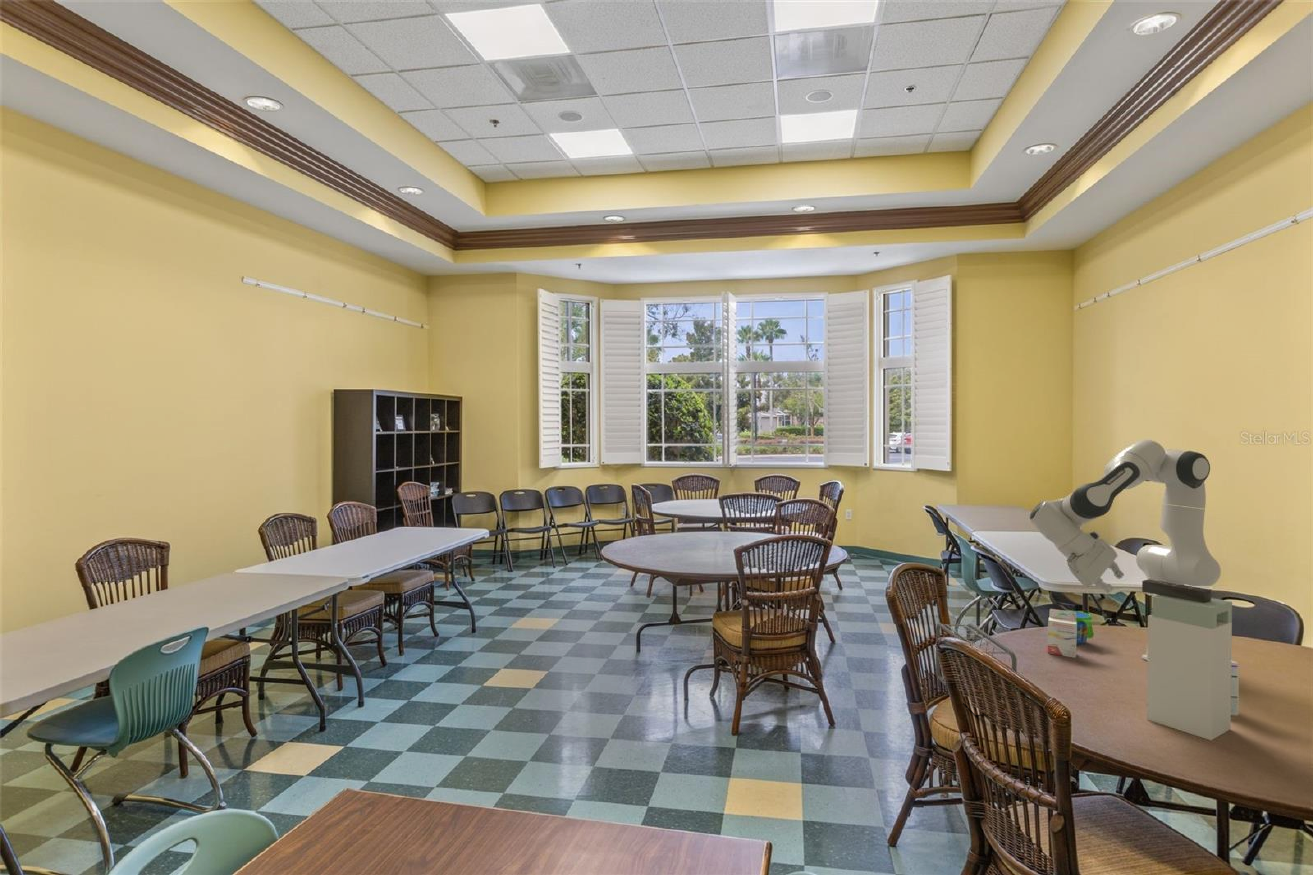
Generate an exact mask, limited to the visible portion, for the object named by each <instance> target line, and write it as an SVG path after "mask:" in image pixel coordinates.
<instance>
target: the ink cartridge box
mask: <svg viewBox="0 0 1313 875" xmlns="http://www.w3.org/2000/svg"><path fill="white" fill-rule="evenodd" d="M1070 611H1071V610H1070ZM1070 611H1063V610H1061V609H1055V608H1050V609H1049V617H1048V619H1047V620H1048V623H1047V653H1048V654H1050V655H1051V654H1052V655H1055V656H1062V657H1067V658H1074V659H1075V658H1077V643H1076V642H1077V621H1076V612H1070ZM1058 613H1064V614H1067V616H1063V615H1058Z"/></svg>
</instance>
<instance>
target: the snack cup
mask: <svg viewBox="0 0 1313 875" xmlns="http://www.w3.org/2000/svg"><path fill="white" fill-rule="evenodd" d="M1063 611H1070V612H1076V621H1077V642H1076V645H1077V644H1081V645H1082V644H1085V643H1087V640H1088V639H1092V638H1093V637H1094V635H1095V634H1094V628H1093V625H1092V622H1091V620H1092V619H1093V617H1092V615H1091V614H1089V613H1086V612H1083V611H1077V610H1066V609H1065V610H1063ZM1058 615H1063V616H1067V614H1064V613H1058Z"/></svg>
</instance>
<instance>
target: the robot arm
mask: <svg viewBox="0 0 1313 875" xmlns="http://www.w3.org/2000/svg"><path fill="white" fill-rule="evenodd" d="M1210 472H1211V463H1210V461H1209V459H1208V458H1207V456H1206V455H1205V454H1203V453H1200V452H1198V451H1192V450H1187V451H1186V450H1181V449H1180V450H1179V449H1165V448H1164V447H1163V446H1162V445H1161V444H1160V443H1158V442H1157V441H1154V440H1152V439H1141V440H1139V441H1136V442H1134V443H1133V444H1130V445H1129V446H1127V447H1125V448H1124V449H1122V450H1121V451H1120V452H1118V453H1117V454H1115V455H1114V456H1113V457H1112V458H1111V459H1110V460H1109V461H1108V462H1107V463H1106V465H1105V466H1104V474H1105V475H1103V476H1102V477H1101V478H1100V479H1098V480H1097V481H1094V482H1089V483H1085V484H1082V485H1080V486H1078V487H1077V488H1076V489H1075V490H1074V491H1073V492H1071V493H1070V494H1068V495H1067V496H1066V497H1064V498H1059V499H1054V500H1042V501H1041V502H1039V503H1038V504H1037V505H1036V506H1035V507H1034V508H1033V509H1032V510H1031V512H1030V515H1029V519H1030V522H1031V523H1032V525H1033V526H1034V527H1035V528H1036V530H1037V531H1038V532H1039V533H1040V534H1041V535H1042V536H1044V538H1045V539H1046V540H1049V541H1050V542H1052V543H1053V545H1054V546H1055V547H1056V549H1057V550H1058V551H1059V552H1060V553H1061V554H1062V555H1063V556H1064V557H1065V558H1066V563H1067V567H1068V570H1070V572H1071V573H1072V575H1073V576H1074V577H1075V578H1076V579H1077V581H1078V582H1079V583H1081V585H1083V586H1084V587H1086V588H1089V587H1091V586H1093V585H1094V586H1096V587H1098V588H1100V589H1102V590H1103V591H1104V592H1106V593H1108V594H1109V593H1111V592H1112V591H1113V590H1114V587H1113V586H1112V584H1110V583H1106V582H1104V580H1103V579H1102V578H1101V577H1102V576H1103V575H1104V574H1105V573H1106V571H1107V570H1108V569H1111V571H1112V573H1113V576H1114V577H1115V578H1117V579H1118V580H1121V579H1122V578H1123V577H1124V576H1125V573H1124V572H1123V570H1121V569H1120V566H1119V565H1118V563H1117V562H1116V561H1115V560H1116V559H1117V558H1118V554H1117V552H1116V550H1115V549H1114V548H1113V547H1112V546H1111V545H1110V544H1109V543H1108V542H1106V540H1104V539H1103V538H1100V534H1099V533H1098V532H1097V531H1090V532H1084V531H1083V530H1082V529H1081V527H1083V526H1085V525H1087V524H1089V523H1090V522H1092V521H1093V520H1095V519H1097V518H1100V517H1102V516H1104V515H1105V514H1107V513H1108V512H1109V511H1110V510H1111V508H1112V505H1113V503H1114V500H1115V499H1116V497H1117V496H1118V495H1119V494H1121V493H1122V492H1123V491H1124V490H1131V489H1133V488H1135V487H1138V486H1139V485H1141V484H1142V483H1144V482H1153V483H1160V484H1164V485H1165V489H1164V493H1163V498H1162V505H1161V514H1160V521H1159V526H1160V529H1161V531H1163V533H1165V534H1166V536H1167V537H1168V540H1169V542H1170V543H1169V544H1170V546H1169V545H1165V544H1164V545H1163V544H1148V545H1144V546H1142V547H1141V548H1139V550H1138V552H1137V554H1136V557H1135V559H1136V564H1137V567H1138V569H1140V570H1141V571H1142V572H1143V574H1144V575H1145V577H1146V579H1147V580H1148V579H1151V580H1157V581H1163V582H1169V583H1175V584H1181V585H1186V586H1192V587H1211V586H1213V585H1215V584H1216V583H1217V582H1218V581H1219V579H1220V577H1221V573H1222V570H1221V565H1220V564H1219V562H1218V561H1217V559H1215V557H1213V556H1212V554H1211V553H1210V550H1209V548H1208V547H1207V544H1206V541H1205V536H1204V523H1205V512H1206V501H1207V500H1206V497H1207V496H1206V485H1205V482H1206V480H1207V478H1208V476H1209V475H1210ZM1154 596H1157V594H1153V597H1154ZM1146 645H1147V646H1146V654H1142V656H1141V659H1143V660H1145V661H1147V659H1148V644H1146Z"/></svg>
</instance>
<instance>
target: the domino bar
mask: <svg viewBox="0 0 1313 875" xmlns="http://www.w3.org/2000/svg"><path fill="white" fill-rule="evenodd" d="M1141 584H1142V585H1141V586H1142V588H1141V590H1142V591H1141V592H1142V593H1147V594H1153V595H1154V594H1157V595H1163V596H1168V597H1173V598H1179V599H1184V600H1190V601H1195V602H1201V603H1207V602H1210V601H1211V598H1212V589H1210V588H1203V587H1199V586H1190V585H1186V584H1185V585H1181V584H1175V583H1169V582H1163V581H1157V580H1151V579H1148V578H1147V579H1146V580H1145V579H1144V580H1142V583H1141Z"/></svg>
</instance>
